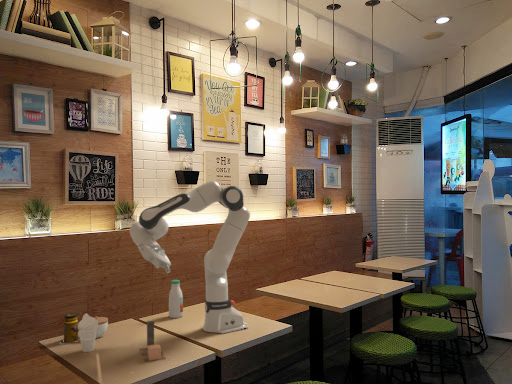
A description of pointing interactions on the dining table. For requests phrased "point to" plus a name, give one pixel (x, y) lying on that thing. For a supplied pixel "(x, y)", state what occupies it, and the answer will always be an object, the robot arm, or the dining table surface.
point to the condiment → (70, 329)
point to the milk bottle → (175, 300)
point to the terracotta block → (154, 352)
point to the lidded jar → (101, 326)
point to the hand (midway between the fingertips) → (163, 269)
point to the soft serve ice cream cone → (87, 332)
